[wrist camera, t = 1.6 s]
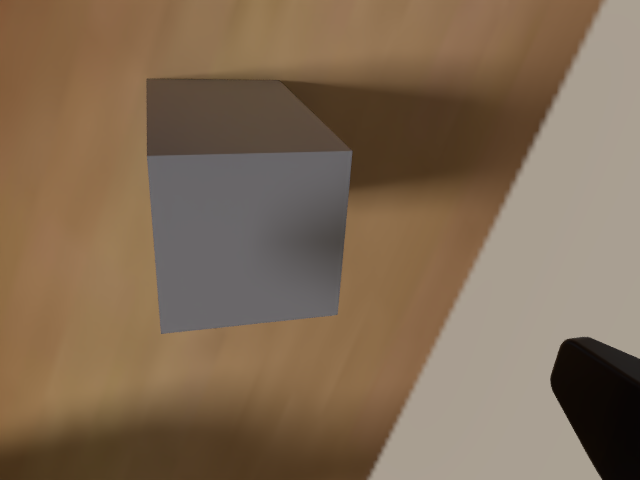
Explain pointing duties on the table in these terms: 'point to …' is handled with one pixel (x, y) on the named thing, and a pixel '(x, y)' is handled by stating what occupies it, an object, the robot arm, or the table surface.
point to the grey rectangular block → (243, 204)
